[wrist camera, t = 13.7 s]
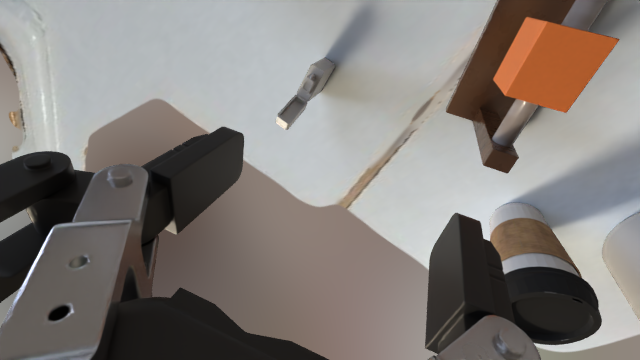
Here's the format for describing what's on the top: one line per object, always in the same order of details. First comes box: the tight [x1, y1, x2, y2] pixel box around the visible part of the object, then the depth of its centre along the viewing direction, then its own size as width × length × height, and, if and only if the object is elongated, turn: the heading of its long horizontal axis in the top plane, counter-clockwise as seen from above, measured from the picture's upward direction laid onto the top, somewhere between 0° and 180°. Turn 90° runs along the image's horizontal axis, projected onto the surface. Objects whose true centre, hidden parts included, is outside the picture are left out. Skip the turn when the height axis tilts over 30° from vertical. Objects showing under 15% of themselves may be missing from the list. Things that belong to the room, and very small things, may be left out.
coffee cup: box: [490, 203, 602, 345], centre depth 33 cm, size 8×8×15 cm
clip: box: [493, 17, 619, 113], centre depth 22 cm, size 4×5×5 cm
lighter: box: [276, 58, 335, 130], centre depth 35 cm, size 7×2×8 cm, turn 151°
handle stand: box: [446, 0, 608, 173], centre depth 25 cm, size 8×16×12 cm, turn 169°
